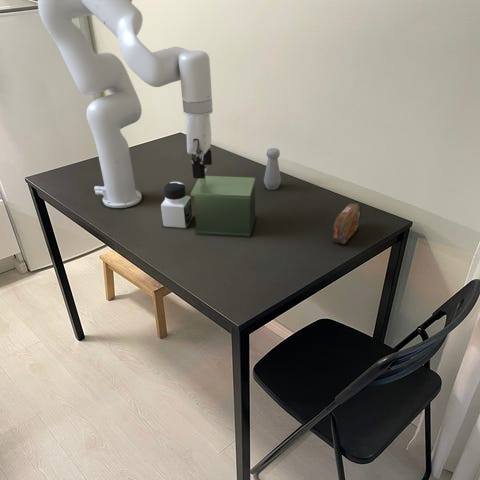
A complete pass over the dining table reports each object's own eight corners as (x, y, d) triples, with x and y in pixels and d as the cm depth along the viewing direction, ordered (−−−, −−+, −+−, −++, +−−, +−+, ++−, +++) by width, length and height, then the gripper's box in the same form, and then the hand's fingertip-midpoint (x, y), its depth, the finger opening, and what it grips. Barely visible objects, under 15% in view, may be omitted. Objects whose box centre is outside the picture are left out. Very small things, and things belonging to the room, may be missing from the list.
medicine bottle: (186, 228, 143) (182, 190, 136) (163, 226, 145) (158, 188, 137) (192, 217, 149) (189, 180, 141) (170, 215, 150) (166, 178, 142)
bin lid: (190, 195, 133) (189, 177, 130) (199, 178, 143) (198, 160, 140) (249, 198, 131) (249, 180, 128) (255, 180, 141) (255, 162, 138)
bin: (196, 234, 141) (193, 196, 133) (205, 214, 150) (202, 178, 143) (250, 237, 139) (249, 198, 132) (255, 217, 148) (255, 180, 141)
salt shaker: (261, 189, 164) (261, 151, 156) (266, 182, 168) (267, 145, 160) (277, 191, 162) (278, 153, 154) (282, 185, 166) (284, 147, 158)
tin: (340, 249, 133) (343, 221, 127) (329, 246, 134) (332, 218, 129) (360, 226, 143) (364, 199, 137) (350, 223, 144) (353, 197, 139)
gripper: (190, 97, 131) (196, 159, 142) (175, 116, 118) (182, 183, 129) (218, 97, 130) (221, 160, 141) (205, 116, 117) (210, 184, 128)
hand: (202, 171), depth 135 cm, fingers open, 9 cm apart
